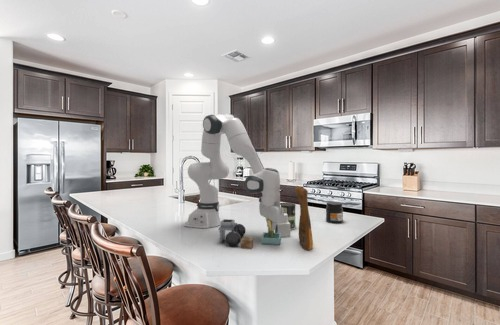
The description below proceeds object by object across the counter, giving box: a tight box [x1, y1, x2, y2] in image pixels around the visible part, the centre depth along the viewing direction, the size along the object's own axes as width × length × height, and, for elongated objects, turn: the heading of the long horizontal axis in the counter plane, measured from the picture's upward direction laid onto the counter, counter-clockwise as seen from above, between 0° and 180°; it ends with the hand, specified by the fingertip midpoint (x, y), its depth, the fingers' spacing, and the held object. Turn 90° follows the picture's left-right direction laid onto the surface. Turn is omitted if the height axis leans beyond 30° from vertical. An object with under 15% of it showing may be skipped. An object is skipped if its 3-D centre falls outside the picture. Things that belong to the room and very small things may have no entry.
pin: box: [267, 217, 275, 237], centre depth 125 cm, size 4×4×10 cm
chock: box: [240, 236, 254, 250], centre depth 118 cm, size 5×4×4 cm
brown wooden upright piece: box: [294, 185, 314, 251], centre depth 120 cm, size 7×19×28 cm, turn 177°
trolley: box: [218, 218, 246, 248], centre depth 126 cm, size 11×15×10 cm
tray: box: [261, 231, 282, 246], centre depth 125 cm, size 9×9×3 cm
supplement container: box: [325, 201, 344, 224], centre depth 161 cm, size 10×10×12 cm
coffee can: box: [280, 202, 296, 231], centre depth 149 cm, size 10×10×14 cm
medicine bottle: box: [274, 212, 291, 238], centre depth 135 cm, size 7×7×12 cm
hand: (271, 228), depth 125 cm, fingers closed on pin, 3 cm apart
